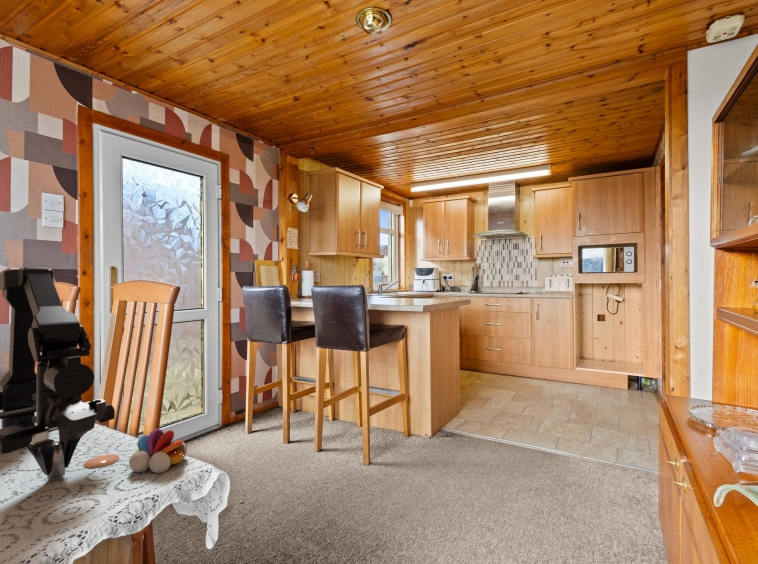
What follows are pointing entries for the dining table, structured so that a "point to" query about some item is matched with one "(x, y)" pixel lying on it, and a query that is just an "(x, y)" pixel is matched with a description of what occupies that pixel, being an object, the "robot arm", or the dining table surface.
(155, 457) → the rainbow petal ball
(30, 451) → the robot arm
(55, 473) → the steel peg
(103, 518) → the dining table surface
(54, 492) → the dining table surface
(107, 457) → the marker disc
